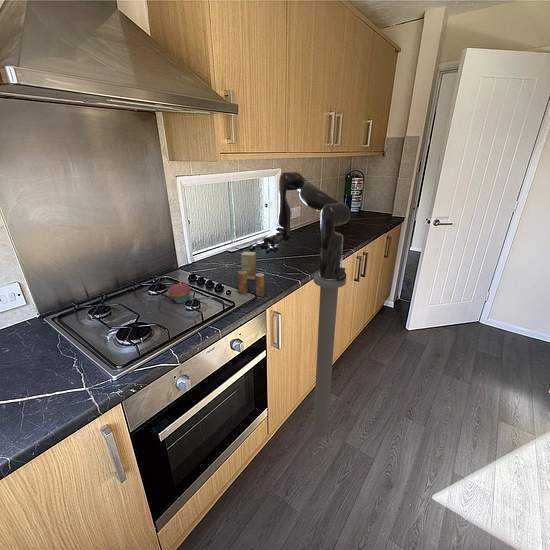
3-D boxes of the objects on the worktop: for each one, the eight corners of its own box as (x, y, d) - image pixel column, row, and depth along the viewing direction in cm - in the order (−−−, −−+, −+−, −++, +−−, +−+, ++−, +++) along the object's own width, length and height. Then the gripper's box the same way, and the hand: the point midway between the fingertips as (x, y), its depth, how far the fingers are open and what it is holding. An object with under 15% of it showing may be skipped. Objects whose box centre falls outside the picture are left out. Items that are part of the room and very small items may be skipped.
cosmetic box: (241, 279, 137) (240, 254, 132) (244, 275, 141) (242, 251, 136) (255, 279, 136) (254, 255, 131) (257, 276, 140) (256, 251, 135)
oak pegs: (266, 293, 123) (265, 273, 120) (262, 296, 120) (261, 276, 117) (241, 289, 127) (240, 269, 124) (237, 292, 124) (236, 273, 121)
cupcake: (196, 299, 119) (192, 272, 115) (179, 307, 113) (174, 279, 108) (182, 293, 124) (178, 267, 119) (165, 302, 118) (160, 274, 113)
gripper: (258, 233, 159) (245, 242, 145) (283, 236, 154) (271, 245, 140) (259, 247, 162) (246, 256, 148) (283, 249, 157) (272, 260, 143)
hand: (258, 251), depth 144 cm, fingers open, 8 cm apart
